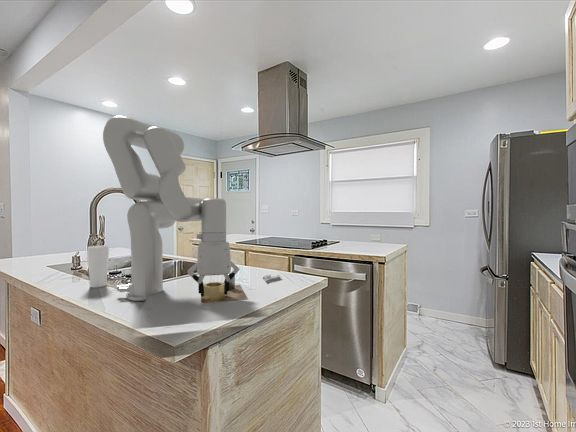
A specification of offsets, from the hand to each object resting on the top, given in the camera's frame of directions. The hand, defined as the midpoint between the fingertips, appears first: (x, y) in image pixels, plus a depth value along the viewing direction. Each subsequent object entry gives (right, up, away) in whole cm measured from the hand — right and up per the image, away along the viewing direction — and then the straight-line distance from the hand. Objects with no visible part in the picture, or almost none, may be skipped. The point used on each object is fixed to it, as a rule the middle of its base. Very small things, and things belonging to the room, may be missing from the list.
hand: (214, 294), depth 95 cm
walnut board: (+2, -2, +5) cm, 6 cm away
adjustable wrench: (+13, -3, +23) cm, 26 cm away
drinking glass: (-48, -2, +18) cm, 51 cm away
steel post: (+3, -1, +10) cm, 11 cm away
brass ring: (0, -1, 0) cm, 1 cm away
